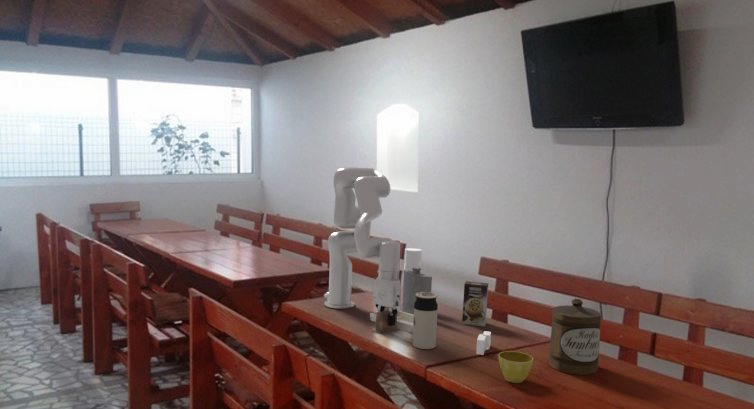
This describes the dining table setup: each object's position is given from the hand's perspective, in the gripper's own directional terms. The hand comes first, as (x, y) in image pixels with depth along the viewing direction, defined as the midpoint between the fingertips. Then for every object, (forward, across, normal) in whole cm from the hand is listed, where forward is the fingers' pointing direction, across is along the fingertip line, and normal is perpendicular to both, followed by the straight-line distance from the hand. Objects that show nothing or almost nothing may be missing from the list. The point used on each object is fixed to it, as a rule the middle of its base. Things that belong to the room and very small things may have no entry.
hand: (386, 323), depth 228 cm
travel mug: (+3, +20, -2) cm, 20 cm away
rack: (+3, -3, +12) cm, 12 cm away
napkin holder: (+4, +36, +11) cm, 38 cm away
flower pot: (+3, +58, -6) cm, 58 cm away
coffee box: (+3, +14, +36) cm, 38 cm away
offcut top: (0, -11, +12) cm, 16 cm away
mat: (+3, 0, 0) cm, 3 cm away
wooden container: (+3, +64, +18) cm, 67 cm away
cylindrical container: (+3, -18, +34) cm, 39 cm away
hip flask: (+3, -8, +26) cm, 27 cm away
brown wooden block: (+3, 0, 0) cm, 3 cm away
